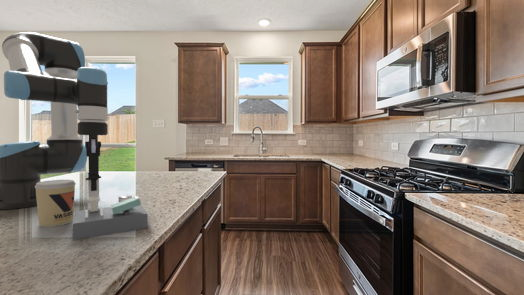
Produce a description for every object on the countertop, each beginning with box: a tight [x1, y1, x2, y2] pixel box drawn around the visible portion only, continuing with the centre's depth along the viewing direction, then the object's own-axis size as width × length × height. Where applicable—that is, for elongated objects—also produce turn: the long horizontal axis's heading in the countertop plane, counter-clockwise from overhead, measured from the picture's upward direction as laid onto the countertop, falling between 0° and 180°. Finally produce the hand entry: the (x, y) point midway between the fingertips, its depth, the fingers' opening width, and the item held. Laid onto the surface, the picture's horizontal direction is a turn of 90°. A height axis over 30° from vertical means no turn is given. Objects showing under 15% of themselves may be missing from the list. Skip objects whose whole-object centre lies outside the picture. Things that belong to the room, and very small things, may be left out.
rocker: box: [110, 195, 142, 214], centre depth 74 cm, size 4×7×2 cm, turn 123°
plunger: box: [118, 195, 133, 203], centre depth 80 cm, size 4×4×3 cm
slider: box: [87, 195, 101, 212], centre depth 76 cm, size 3×3×4 cm
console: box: [72, 204, 149, 241], centre depth 75 cm, size 13×17×5 cm
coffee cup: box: [35, 179, 76, 228], centre depth 78 cm, size 9×9×12 cm
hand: (93, 201), depth 79 cm, fingers closed
